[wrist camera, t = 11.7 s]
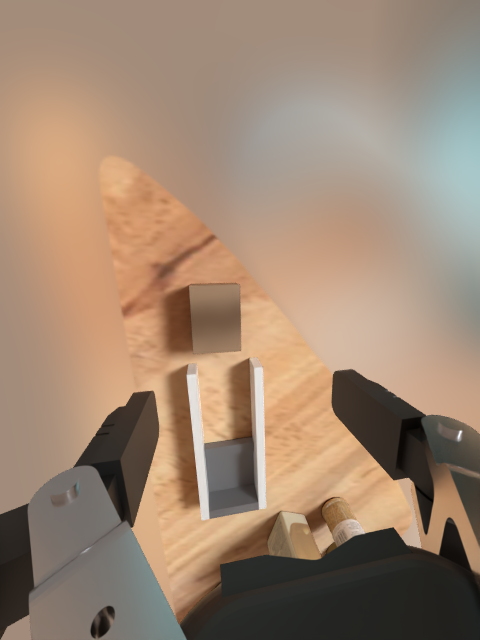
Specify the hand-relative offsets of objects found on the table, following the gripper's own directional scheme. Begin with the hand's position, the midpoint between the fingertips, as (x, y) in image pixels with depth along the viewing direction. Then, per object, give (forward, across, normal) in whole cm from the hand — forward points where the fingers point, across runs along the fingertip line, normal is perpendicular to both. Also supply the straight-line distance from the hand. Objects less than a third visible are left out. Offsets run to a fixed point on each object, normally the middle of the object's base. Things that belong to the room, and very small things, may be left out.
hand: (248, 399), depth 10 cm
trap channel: (+17, 0, +16) cm, 23 cm away
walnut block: (+18, +1, -1) cm, 18 cm away
